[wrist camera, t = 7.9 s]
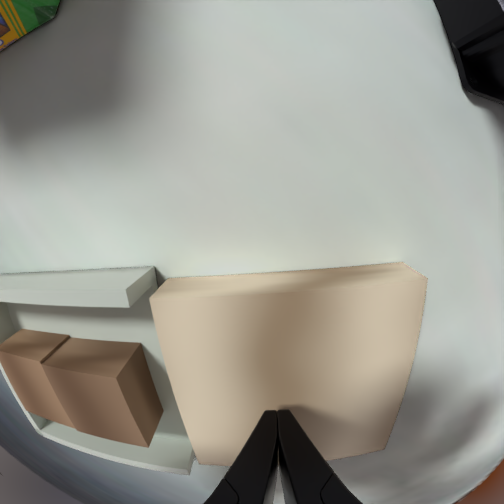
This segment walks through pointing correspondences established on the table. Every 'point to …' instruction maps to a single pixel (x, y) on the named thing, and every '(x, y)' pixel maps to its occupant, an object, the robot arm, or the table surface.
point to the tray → (99, 328)
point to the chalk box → (23, 17)
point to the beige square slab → (291, 354)
